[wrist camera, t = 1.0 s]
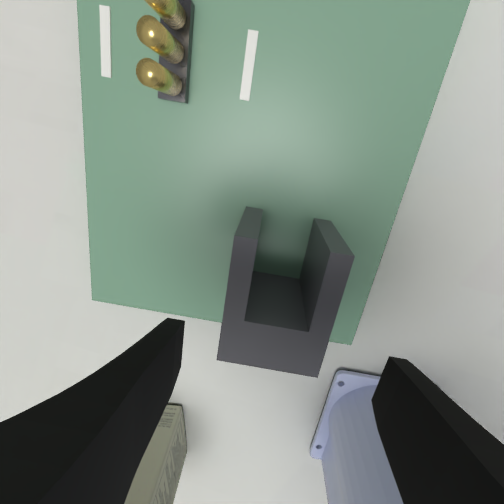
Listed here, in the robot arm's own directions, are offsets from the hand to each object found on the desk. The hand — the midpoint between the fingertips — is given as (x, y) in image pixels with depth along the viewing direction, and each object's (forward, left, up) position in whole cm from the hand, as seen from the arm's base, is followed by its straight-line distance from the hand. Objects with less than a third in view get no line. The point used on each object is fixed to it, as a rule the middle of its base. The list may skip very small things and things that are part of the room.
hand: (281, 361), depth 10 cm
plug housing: (0, 0, -9) cm, 9 cm away
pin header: (+10, +7, -9) cm, 15 cm away
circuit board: (+5, +3, -10) cm, 11 cm away
